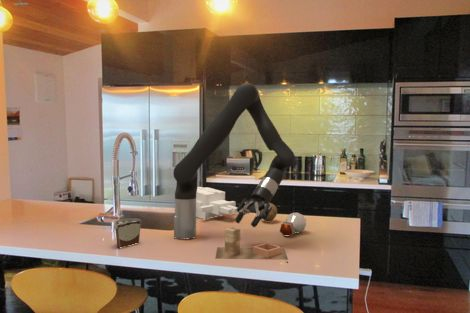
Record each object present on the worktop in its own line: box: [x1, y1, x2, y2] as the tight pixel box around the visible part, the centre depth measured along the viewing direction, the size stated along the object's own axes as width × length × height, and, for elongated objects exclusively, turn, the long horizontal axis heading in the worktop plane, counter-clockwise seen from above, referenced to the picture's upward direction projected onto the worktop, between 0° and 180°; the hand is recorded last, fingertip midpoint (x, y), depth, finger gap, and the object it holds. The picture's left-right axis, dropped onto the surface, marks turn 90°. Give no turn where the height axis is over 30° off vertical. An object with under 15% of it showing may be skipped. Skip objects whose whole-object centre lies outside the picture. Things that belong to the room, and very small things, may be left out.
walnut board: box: [215, 246, 289, 261], centre depth 161 cm, size 26×14×2 cm, turn 89°
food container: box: [113, 218, 143, 249], centre depth 175 cm, size 12×6×10 cm, turn 141°
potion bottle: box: [279, 212, 307, 236], centre depth 196 cm, size 9×10×15 cm
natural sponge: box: [262, 202, 278, 222], centre depth 218 cm, size 9×9×10 cm
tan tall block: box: [224, 226, 241, 255], centre depth 161 cm, size 4×4×9 cm
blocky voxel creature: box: [196, 186, 239, 220], centre depth 228 cm, size 15×25×28 cm
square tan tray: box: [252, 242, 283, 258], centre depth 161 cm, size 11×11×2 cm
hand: (244, 224), depth 165 cm, fingers open, 8 cm apart
